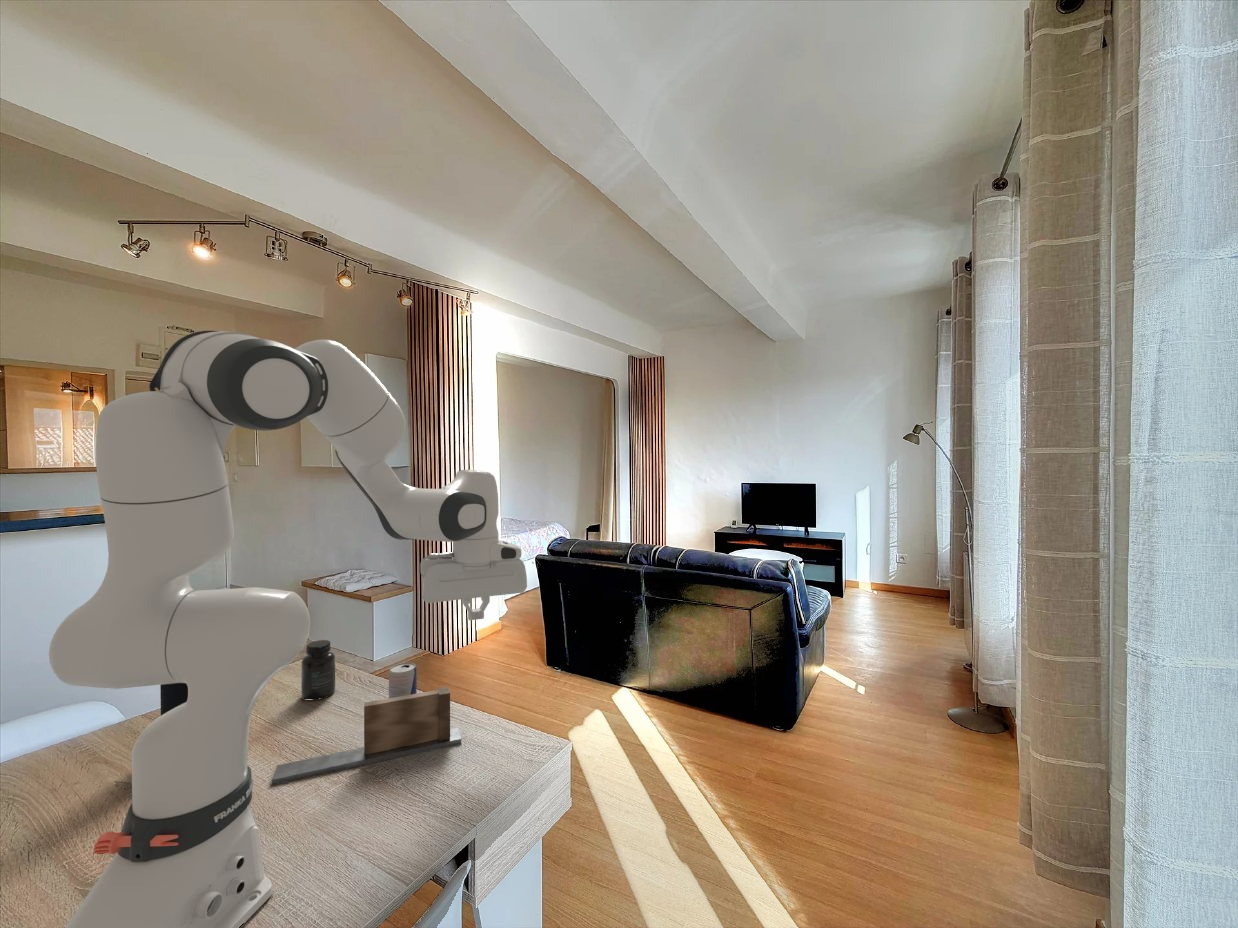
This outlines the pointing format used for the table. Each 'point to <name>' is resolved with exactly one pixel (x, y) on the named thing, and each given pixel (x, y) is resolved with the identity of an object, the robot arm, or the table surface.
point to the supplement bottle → (318, 670)
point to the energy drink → (402, 680)
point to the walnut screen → (406, 720)
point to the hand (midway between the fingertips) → (476, 618)
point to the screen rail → (353, 759)
